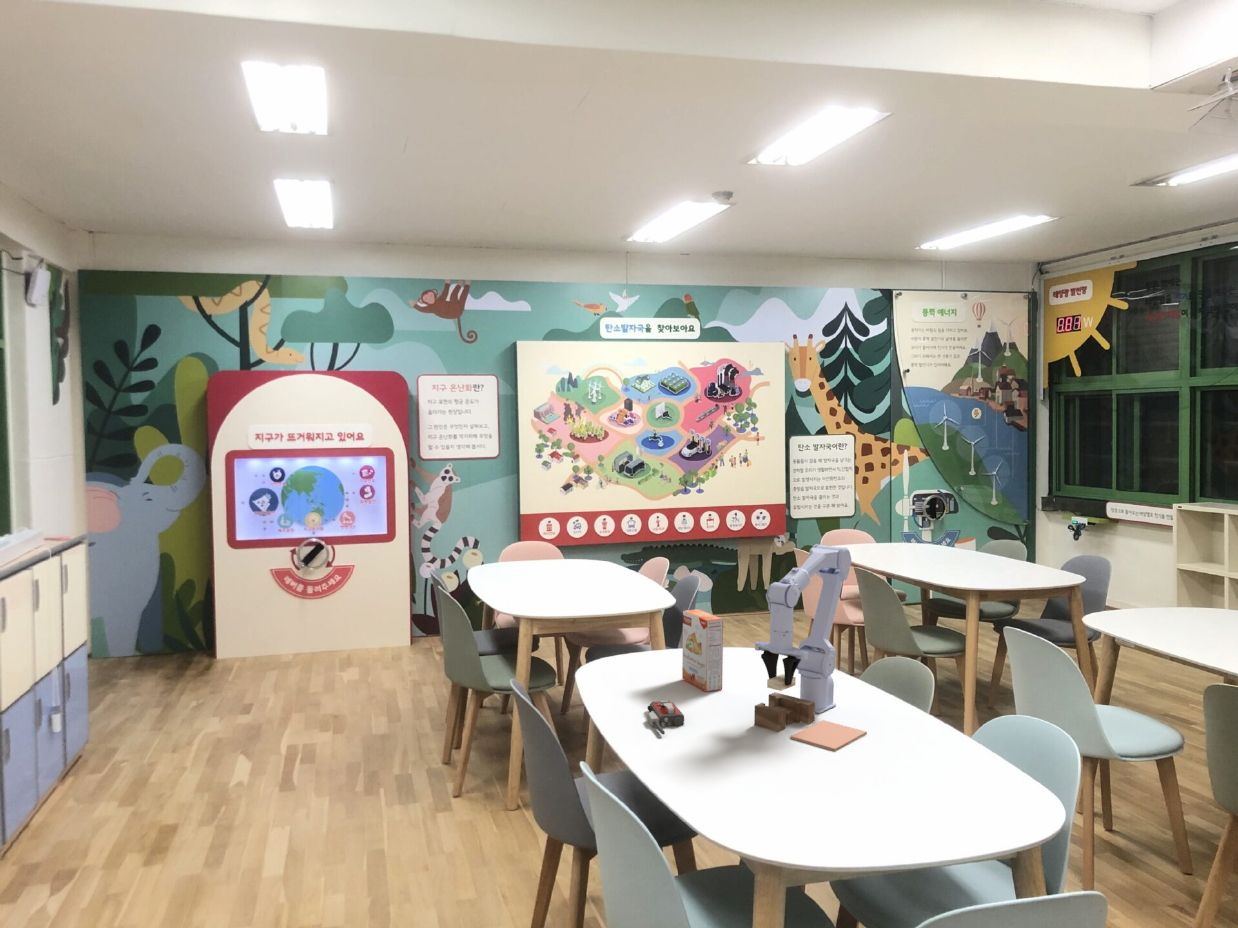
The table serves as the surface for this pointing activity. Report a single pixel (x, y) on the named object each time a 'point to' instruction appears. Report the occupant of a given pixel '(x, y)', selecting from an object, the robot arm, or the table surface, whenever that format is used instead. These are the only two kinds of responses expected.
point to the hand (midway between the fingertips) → (780, 682)
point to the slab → (779, 683)
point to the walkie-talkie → (664, 715)
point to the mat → (828, 735)
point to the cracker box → (702, 650)
